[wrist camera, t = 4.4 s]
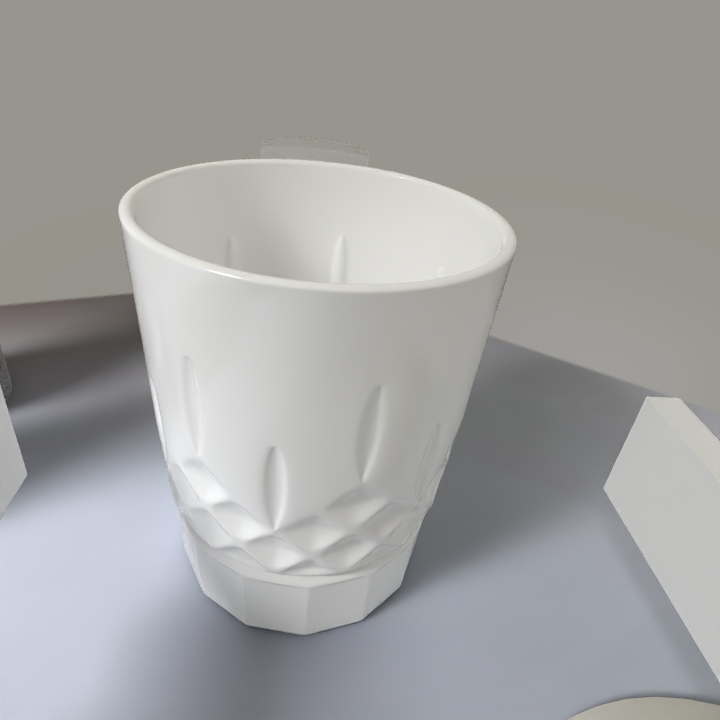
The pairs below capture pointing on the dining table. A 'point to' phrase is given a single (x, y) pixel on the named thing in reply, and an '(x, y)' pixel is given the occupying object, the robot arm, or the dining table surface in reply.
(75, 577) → the dining table surface
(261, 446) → the white cup
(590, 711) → the coaster
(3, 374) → the cylinder
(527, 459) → the dining table surface
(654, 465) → the robot arm
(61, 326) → the dining table surface
